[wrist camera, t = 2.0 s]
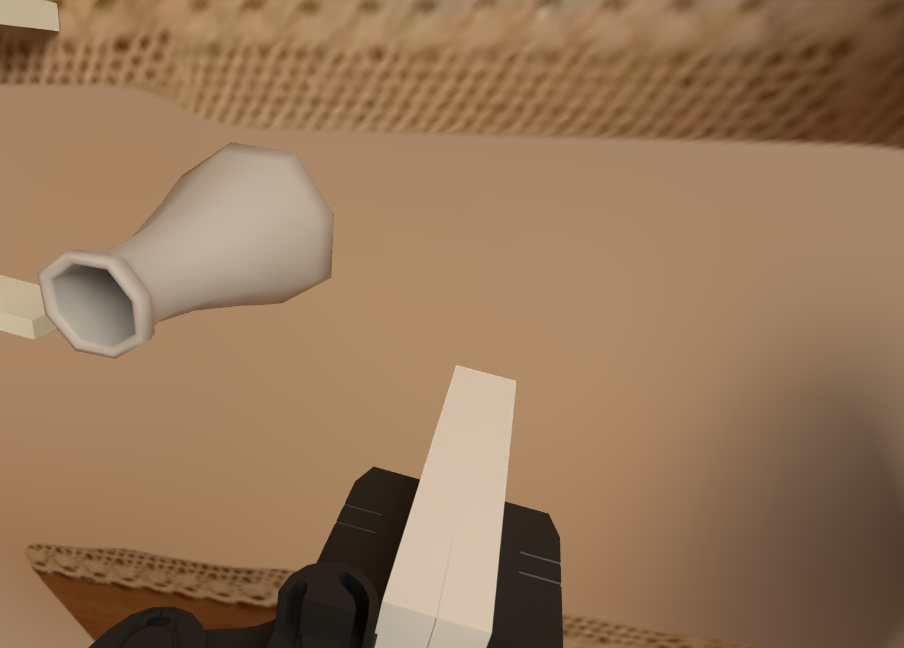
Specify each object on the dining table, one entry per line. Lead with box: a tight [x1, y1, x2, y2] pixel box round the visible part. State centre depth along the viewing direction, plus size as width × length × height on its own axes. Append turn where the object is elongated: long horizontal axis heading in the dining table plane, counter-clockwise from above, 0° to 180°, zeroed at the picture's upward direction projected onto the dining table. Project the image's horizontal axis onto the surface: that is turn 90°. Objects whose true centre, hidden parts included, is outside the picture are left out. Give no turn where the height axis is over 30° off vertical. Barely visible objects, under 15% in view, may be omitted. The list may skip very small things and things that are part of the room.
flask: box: [37, 143, 334, 358], centre depth 20 cm, size 7×7×10 cm
